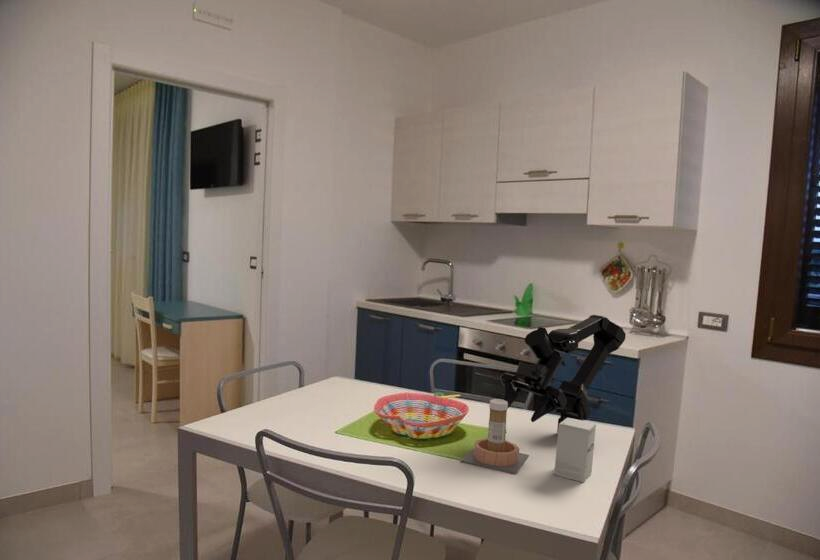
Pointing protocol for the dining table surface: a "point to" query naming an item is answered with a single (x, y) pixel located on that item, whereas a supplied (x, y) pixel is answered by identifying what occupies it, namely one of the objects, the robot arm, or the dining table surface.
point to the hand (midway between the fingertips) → (517, 415)
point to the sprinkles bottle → (497, 425)
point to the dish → (496, 457)
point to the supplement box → (575, 449)
